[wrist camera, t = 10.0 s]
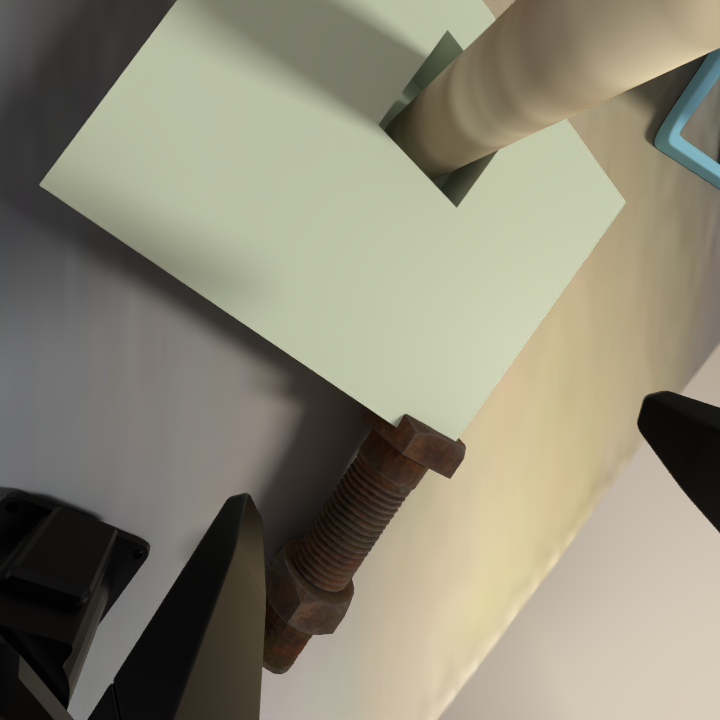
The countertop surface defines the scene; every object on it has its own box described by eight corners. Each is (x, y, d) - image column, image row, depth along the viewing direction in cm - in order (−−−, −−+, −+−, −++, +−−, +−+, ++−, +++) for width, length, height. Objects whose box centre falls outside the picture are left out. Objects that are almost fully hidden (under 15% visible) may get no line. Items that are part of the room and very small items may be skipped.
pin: (417, 200, 19) (705, 88, 7) (367, 152, 18) (619, -73, 6) (455, 147, 19) (804, -48, 7) (409, 95, 18) (735, -234, 6)
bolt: (251, 588, 24) (385, 384, 23) (317, 641, 23) (459, 433, 22) (196, 660, 18) (372, 391, 17) (283, 733, 18) (473, 459, 16)
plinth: (403, 424, 23) (443, 459, 18) (88, 208, 16) (39, 185, 12) (553, 215, 23) (625, 202, 19) (306, -85, 16) (333, -209, 12)
